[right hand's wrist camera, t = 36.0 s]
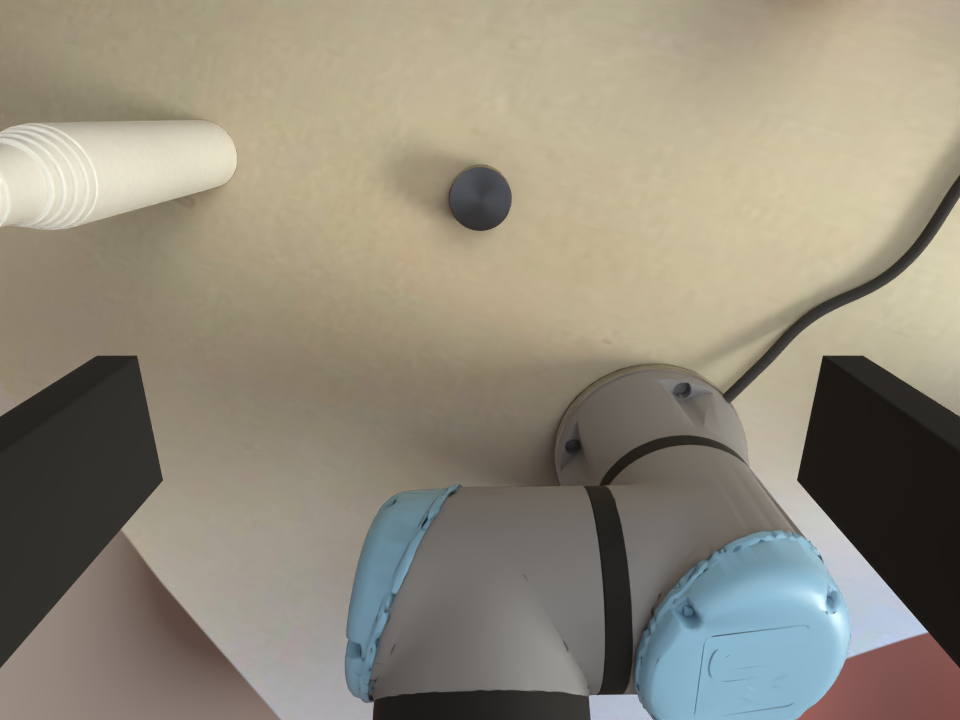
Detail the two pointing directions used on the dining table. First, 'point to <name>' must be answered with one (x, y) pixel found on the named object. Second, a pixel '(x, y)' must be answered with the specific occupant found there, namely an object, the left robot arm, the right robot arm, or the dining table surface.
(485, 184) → the cap
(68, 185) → the bottle
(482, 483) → the dining table surface
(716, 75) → the dining table surface
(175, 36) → the dining table surface
